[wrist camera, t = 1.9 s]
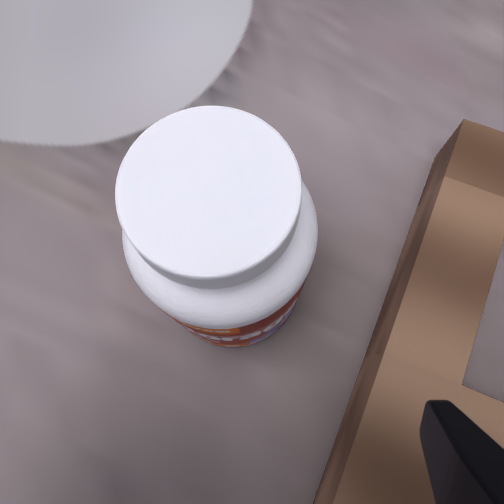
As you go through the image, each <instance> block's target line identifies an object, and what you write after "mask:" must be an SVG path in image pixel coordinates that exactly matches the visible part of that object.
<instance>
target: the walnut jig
mask: <svg viewBox="0 0 504 504" xmlns="http://www.w3.org/2000/svg"><path fill="white" fill-rule="evenodd" d="M503 240H504V132H501V131H498V130H495V129H492V128H489V127H486V126H483V125H480V124H477V123H474V122H471V121H468V120H465V119H464V120H463V121H462V122H461V124H460V125H459V126H458V128H457V129H456V130H455V132H454V133H453V134H452V136H451V137H450V138H449V140H448V141H447V142H446V144H445V145H444V146H443V148H442V149H441V150H440V152H439V153H438V154H437V156H436V157H435V159H434V162H433V165H432V168H431V170H430V173H429V176H428V179H427V182H426V185H425V187H424V190H423V193H422V196H421V199H420V202H419V204H418V207H417V210H416V213H415V216H414V219H413V222H412V224H411V227H410V230H409V233H408V236H407V239H406V241H405V244H404V247H403V250H402V253H401V256H400V258H399V261H398V264H397V267H396V270H395V273H394V275H393V278H392V281H391V284H390V287H389V290H388V293H387V295H386V298H385V301H384V304H383V307H382V310H381V312H380V315H379V318H378V321H377V324H376V327H375V329H374V332H373V335H372V338H371V341H370V344H369V346H368V349H367V352H366V355H365V358H364V361H363V364H362V366H361V369H360V372H359V375H358V378H357V381H356V383H355V386H354V389H353V392H352V395H351V398H350V400H349V403H348V406H347V409H346V412H345V415H344V417H343V420H342V423H341V426H340V429H339V432H338V435H337V437H336V440H335V443H334V446H333V449H332V452H331V454H330V457H329V460H328V463H327V466H326V469H325V471H324V474H323V477H322V480H321V483H320V486H319V488H318V491H317V494H316V497H315V500H314V503H313V504H436V503H435V499H434V495H433V491H432V487H431V483H430V478H429V474H428V470H427V466H426V462H425V458H424V454H423V449H422V445H421V441H420V433H419V431H420V424H421V420H422V415H423V411H424V407H425V404H426V402H427V401H428V400H449V401H451V402H452V403H453V404H454V405H456V406H457V407H458V408H459V409H460V410H461V411H462V412H463V413H464V414H466V415H467V416H468V417H469V418H470V419H471V420H472V421H473V422H474V423H476V424H477V425H478V426H479V427H480V428H481V429H482V430H483V431H484V432H486V433H487V434H488V435H489V436H490V437H491V438H492V439H493V440H495V441H496V442H497V443H498V444H499V445H500V446H501V447H502V448H503V449H504V403H503V402H501V401H498V400H496V399H494V398H491V397H489V396H487V395H484V394H482V393H479V392H477V391H475V390H472V389H470V388H467V387H465V386H463V385H462V382H463V378H464V375H465V371H466V368H467V364H468V361H469V357H470V354H471V351H472V347H473V344H474V340H475V337H476V333H477V330H478V326H479V323H480V319H481V316H482V313H483V309H484V306H485V302H486V299H487V295H488V292H489V288H490V285H491V282H492V278H493V275H494V271H495V268H496V264H497V261H498V257H499V254H500V251H501V247H502V244H503Z"/></svg>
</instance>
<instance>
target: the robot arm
mask: <svg viewBox="0 0 504 504" xmlns="http://www.w3.org/2000/svg"><path fill="white" fill-rule="evenodd" d="M419 433H420V441H421V445H422V449H423V454H424V458H425V462H426V466H427V470H428V474H429V478H430V483H431V487H432V491H433V495H434V499H435V503H436V504H504V449H503V448H502V447H501V446H500V445H499V444H498V443H497V442H496V441H495V440H493V439H492V438H491V437H490V436H489V435H488V434H487V433H486V432H484V431H483V430H482V429H481V428H480V427H479V426H478V425H477V424H476V423H474V422H473V421H472V420H471V419H470V418H469V417H468V416H467V415H466V414H464V413H463V412H462V411H461V410H460V409H459V408H458V407H457V406H456V405H454V404H453V403H452V402H451V401H449V400H428V401H427V402H426V404H425V407H424V411H423V415H422V420H421V424H420V431H419Z"/></svg>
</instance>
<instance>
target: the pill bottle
mask: <svg viewBox="0 0 504 504" xmlns="http://www.w3.org/2000/svg"><path fill="white" fill-rule="evenodd" d="M115 202H116V210H117V215H118V218H119V222H120V224H121V227H122V229H123V232H122V238H123V248H124V254H125V258H126V261H127V264H128V267H129V270H130V272H131V274H132V276H133V278H134V280H135V281H136V283H137V284H138V286H139V287H140V288H141V290H142V291H143V292H144V293H145V294H146V296H147V297H148V298H149V299H150V300H151V301H152V302H153V303H154V304H155V305H156V306H158V307H159V308H160V309H161V310H162V311H164V312H165V313H166V314H168V315H169V316H170V317H172V318H173V319H175V320H176V321H177V322H178V323H180V324H181V325H182V326H184V327H185V328H186V329H187V330H189V331H190V332H191V333H192V334H194V335H195V336H197V337H198V338H200V339H202V340H204V341H206V342H209V343H211V344H214V345H218V346H223V347H242V346H247V345H251V344H254V343H257V342H260V341H262V340H264V339H265V338H267V337H269V336H270V335H271V334H273V333H274V332H275V331H277V330H278V329H279V328H280V327H281V326H282V325H283V324H284V322H285V321H286V320H287V318H288V317H289V316H290V314H291V312H292V310H293V308H294V306H295V304H296V302H297V299H298V297H299V294H300V292H301V290H302V287H303V285H304V283H305V280H306V278H307V276H308V274H309V271H310V269H311V266H312V263H313V260H314V256H315V252H316V248H317V240H318V223H317V216H316V211H315V206H314V203H313V200H312V198H311V195H310V193H309V191H308V189H307V187H306V186H305V184H304V182H303V181H302V179H301V174H300V169H299V165H298V163H297V160H296V158H295V156H294V153H293V152H292V150H291V148H290V147H289V145H288V144H287V142H286V141H285V140H284V138H283V137H282V136H281V135H280V134H279V133H278V132H277V131H276V130H275V129H274V128H273V127H272V126H270V125H269V124H267V123H266V122H265V121H263V120H262V119H260V118H258V117H256V116H255V115H253V114H250V113H248V112H245V111H242V110H239V109H235V108H230V107H224V106H199V107H193V108H189V109H185V110H182V111H178V112H176V113H173V114H171V115H169V116H167V117H165V118H163V119H161V120H159V121H157V122H156V123H155V124H153V125H152V126H150V127H149V128H148V129H146V130H145V131H144V132H143V133H142V134H141V135H140V136H139V137H138V138H137V139H136V140H135V142H134V143H133V144H132V146H131V147H130V149H129V150H128V152H127V154H126V156H125V157H124V159H123V161H122V163H121V166H120V169H119V172H118V175H117V180H116V188H115Z"/></svg>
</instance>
